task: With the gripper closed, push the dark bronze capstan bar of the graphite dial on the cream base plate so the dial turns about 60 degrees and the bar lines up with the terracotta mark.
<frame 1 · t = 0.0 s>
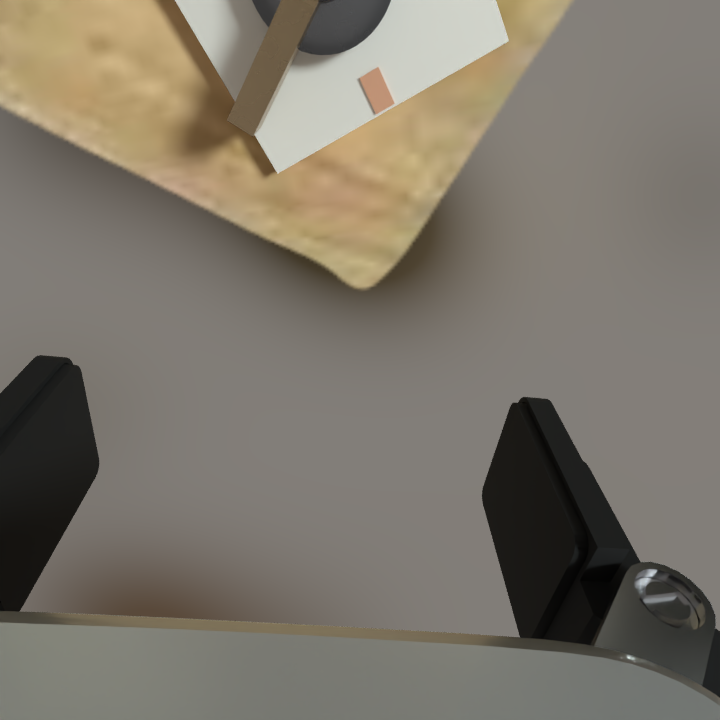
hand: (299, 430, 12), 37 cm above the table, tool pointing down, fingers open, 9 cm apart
cam dial: (297, 13, 35), point 4 cm above the table, hinge at 0.0°
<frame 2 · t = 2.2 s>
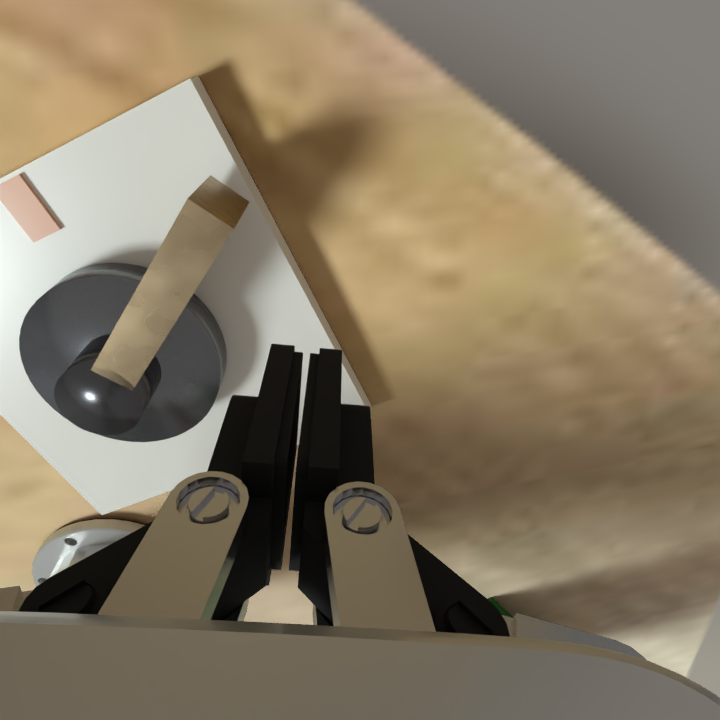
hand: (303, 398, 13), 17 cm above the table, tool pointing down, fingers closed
cam dial: (143, 331, 26), point 4 cm above the table, hinge at 0.0°
base plate: (144, 334, 30), on the table
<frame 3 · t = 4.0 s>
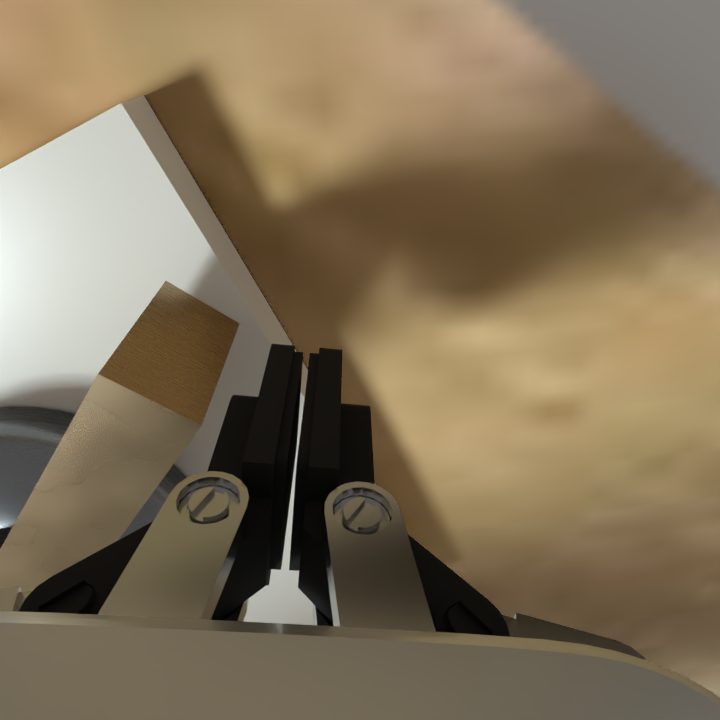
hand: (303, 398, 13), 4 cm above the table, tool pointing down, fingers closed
cam dial: (62, 530, 15), point 4 cm above the table, hinge at 0.1°, touching gripper
base plate: (84, 486, 20), on the table
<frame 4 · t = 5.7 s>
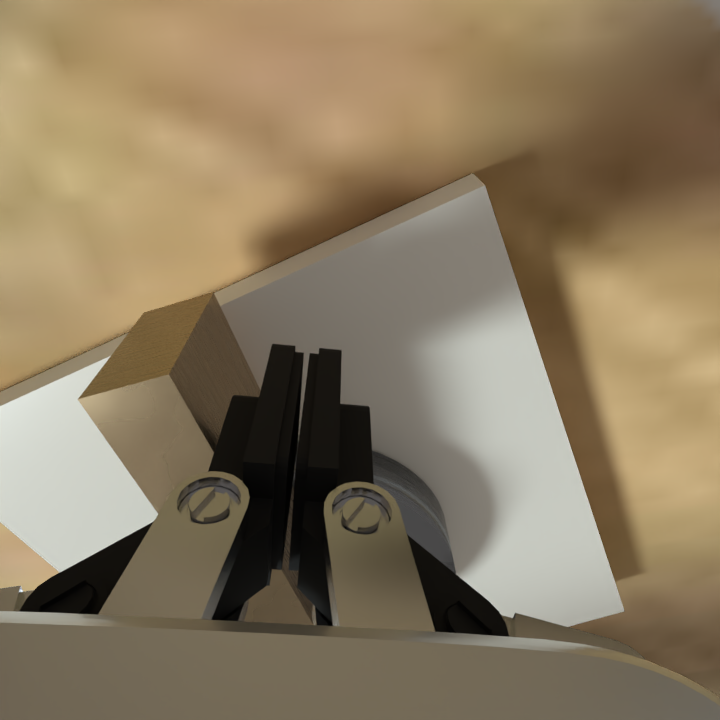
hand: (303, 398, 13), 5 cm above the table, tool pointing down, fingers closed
cam dial: (281, 545, 16), point 4 cm above the table, hinge at 51.8°, touching gripper
base plate: (318, 510, 21), on the table
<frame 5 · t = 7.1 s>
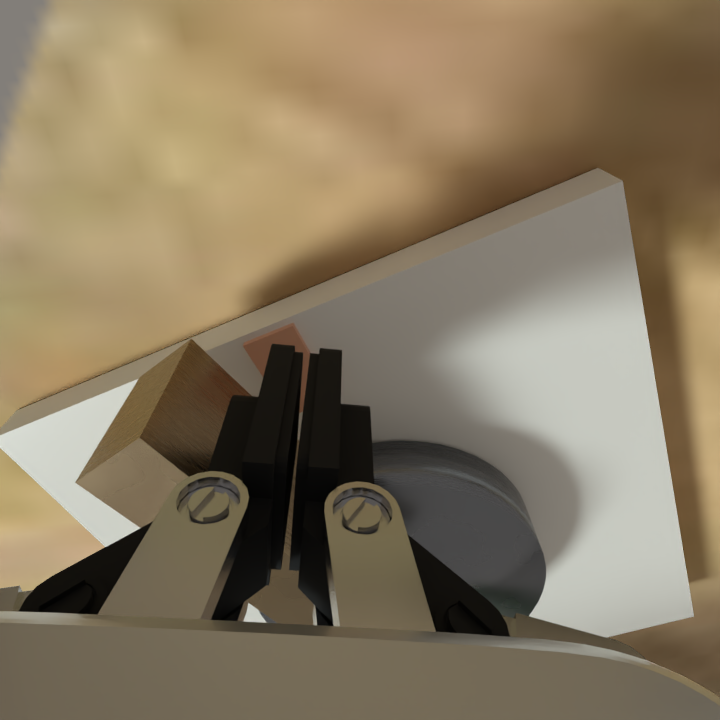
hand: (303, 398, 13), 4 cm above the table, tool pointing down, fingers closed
cam dial: (345, 558, 16), point 4 cm above the table, hinge at 73.0°, touching gripper
base plate: (391, 510, 21), on the table
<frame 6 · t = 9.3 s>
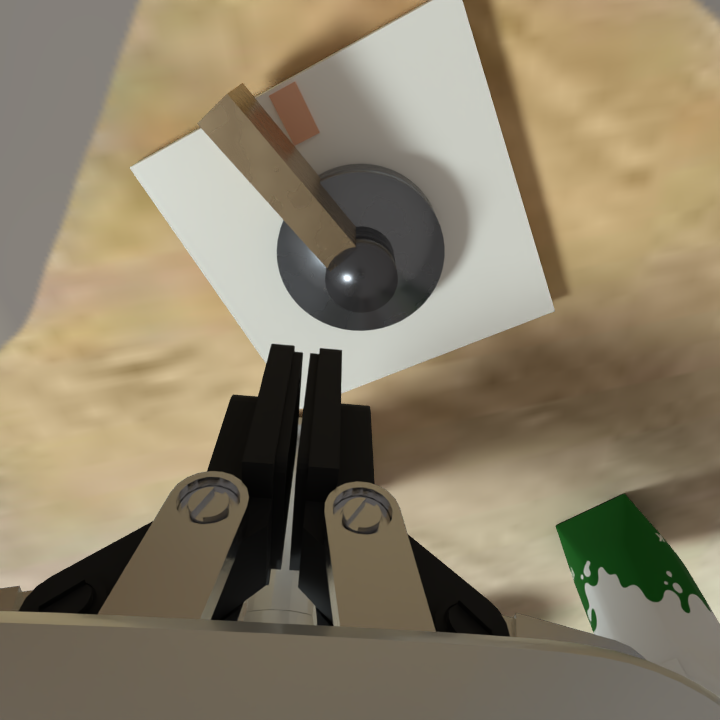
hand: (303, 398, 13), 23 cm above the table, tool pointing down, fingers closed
cam dial: (327, 223, 30), point 4 cm above the table, hinge at 73.2°
milk carton: (604, 525, 51), on the table
base plate: (360, 236, 34), on the table
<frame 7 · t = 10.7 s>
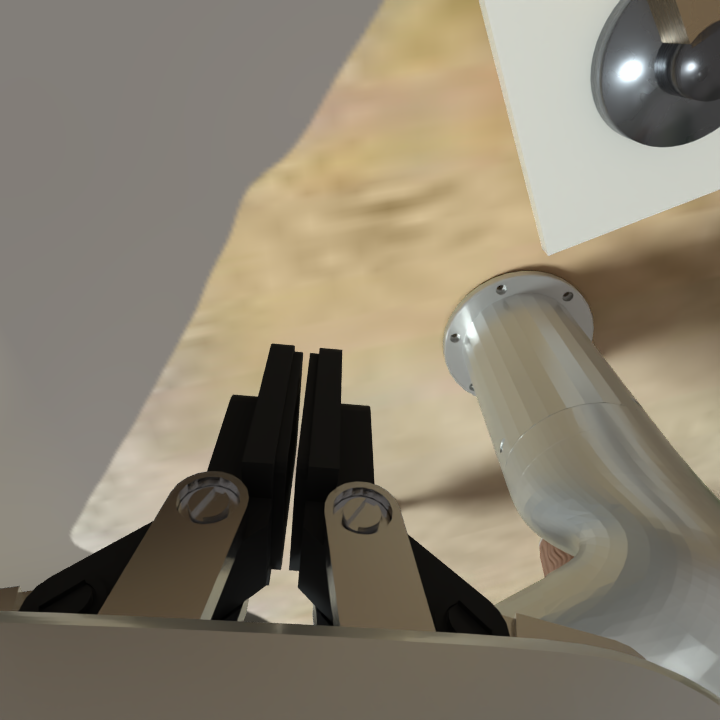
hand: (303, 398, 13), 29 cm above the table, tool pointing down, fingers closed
cam dial: (676, 9, 29), point 4 cm above the table, hinge at 73.2°
base plate: (658, 55, 34), on the table
coffee cup: (568, 538, 60), on the table
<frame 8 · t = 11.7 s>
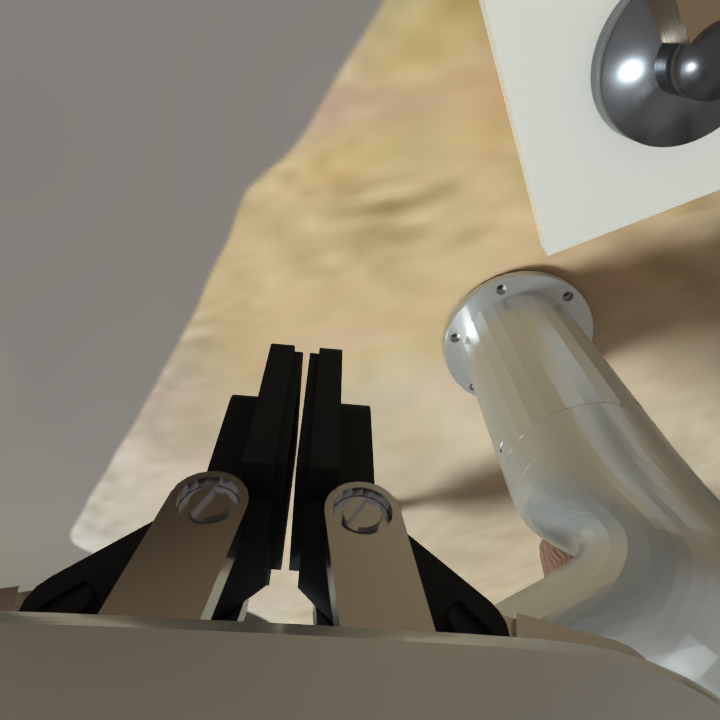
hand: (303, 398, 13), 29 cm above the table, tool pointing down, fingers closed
cam dial: (676, 9, 29), point 4 cm above the table, hinge at 73.2°
base plate: (659, 55, 34), on the table
coffee cup: (568, 538, 60), on the table
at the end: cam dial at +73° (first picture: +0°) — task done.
